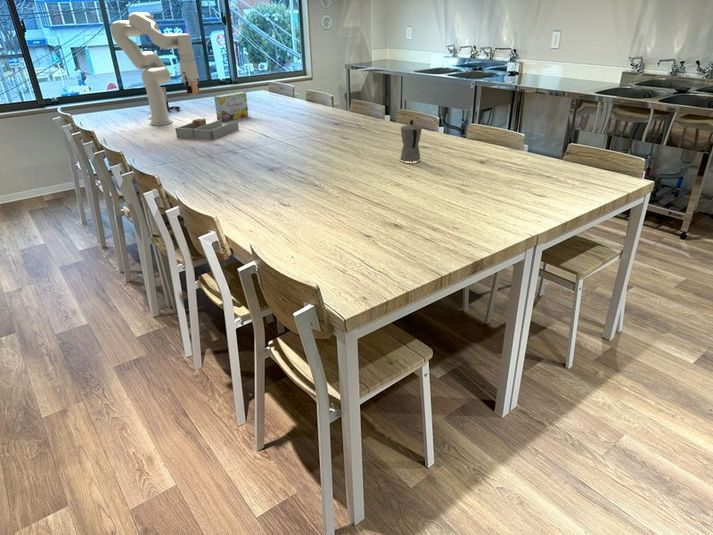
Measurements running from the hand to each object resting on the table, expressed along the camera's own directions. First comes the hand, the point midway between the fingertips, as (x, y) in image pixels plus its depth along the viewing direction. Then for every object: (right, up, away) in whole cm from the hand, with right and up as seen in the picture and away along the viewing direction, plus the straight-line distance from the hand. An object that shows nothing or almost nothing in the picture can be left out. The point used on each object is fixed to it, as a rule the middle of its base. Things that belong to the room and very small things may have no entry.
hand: (193, 92), depth 281 cm
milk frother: (-36, +7, +57) cm, 68 cm away
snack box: (+16, -7, +29) cm, 33 cm away
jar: (0, -1, +1) cm, 1 cm away
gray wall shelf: (+11, -25, -6) cm, 28 cm away
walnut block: (+6, -24, -4) cm, 25 cm away
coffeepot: (+118, -54, -61) cm, 144 cm away
